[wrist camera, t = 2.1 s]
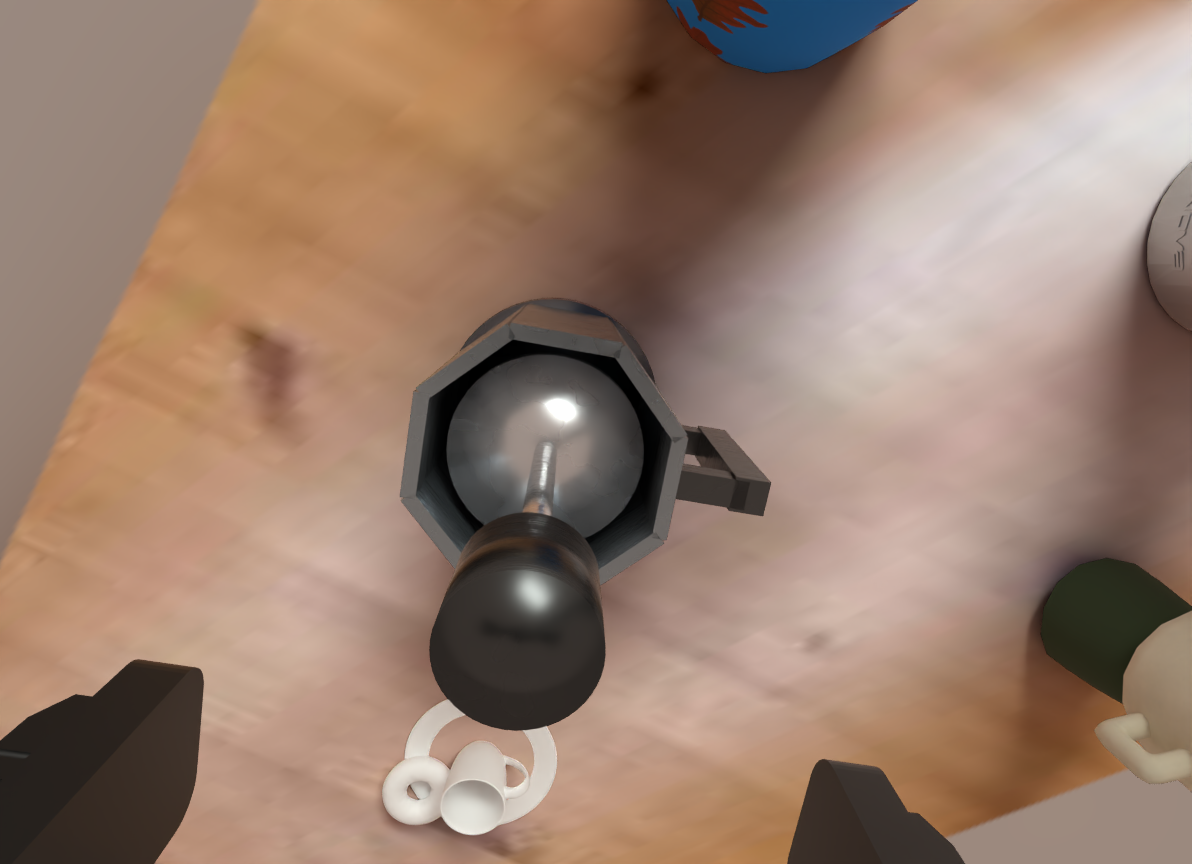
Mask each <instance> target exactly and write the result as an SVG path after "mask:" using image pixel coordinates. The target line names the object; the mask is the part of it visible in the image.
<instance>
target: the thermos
mask: <svg viewBox="0 0 1192 864" xmlns="http://www.w3.org/2000/svg"><path fill="white" fill-rule="evenodd" d="M667 1H668V3H669V4H670V6H671V8H672V9H673V11H674V12H675V14H676V15H677V17H678V18H679V20H680V21H681V23H682V24H683V26H684V27H685V29H686V30H687V32H688V34H689V35H690V37H691V38H693V39H694V40H695V41H697V42H698V43H699V44H701V45H702V46H704V47H705V48H706V49H708V50H709V51H710V52H712V53H713V54H714V55H716V56H717V57H718V58H720V59H721V60H723V61H724V62H725V63H729V64H733V65H736V66H740V67H744V68H748V69H751V70H755V71H759V72H763V73H772V72H780V71H788V70H797V69H805V68H808V67H810V66H812V65H814V64H816V63H818V62H820V61H822V60H824V59H826V58H828V57H829V56H831V55H833V54H835V53H837V52H839V51H841V50H843V49H845V48H846V47H848V46H850V45H852V44H853V43H855V42H857V41H859V40H860V39H862V38H864V37H865V36H867V35H869V34H871V33H872V32H874V31H876V30H877V29H879V28H881V27H883V26H884V25H886V24H887V23H888V22H890V21H891V20H892V19H894V18H895V17H896V16H898V15H899V14H900V13H902V12H903V11H904V10H906V9H907V8H908V7H910V6H911V5H912V4H914V3H915V2H916V1H918V0H667Z"/></svg>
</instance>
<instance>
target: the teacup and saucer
mask: <svg viewBox="0 0 1192 864" xmlns="http://www.w3.org/2000/svg"><path fill="white" fill-rule="evenodd" d="M464 715H465V714H464V713H462V712H461V711H460V710H459V709H457V708H456V707H455V706H454V705H453V704H452V703H451V702H450V701H449V700H448V699H446V700H444V701H442V702H440V703H438V704H437V705H435V706H434V707H432V708H431V709H430V710H428V711H427V712H426V713H425V714H424V715H423V716H422V717H421V718H420V719H419V720H418V722H417V723H416V724H415V726H414V727H413V729H412V731H411V733H410V735H409V737H408V740H407V743H406V748H405V755H404V760H403V761H402V762H400V763H399V764H397V765H396V766H395V767H394V768H393V769H392V770H391V771H390V773H389V774H388V776H387V777H386V779H385V782H384V784H383V788H382V798H383V803H384V806H385V808H386V810H387V811H388V813H389V814H390V815H391V816H392V817H393V818H394V819H396V820H397V821H399V822H402V823H404V824H408V825H422V824H427V823H430V822H432V821H434V820H436V819H438V818H439V817H442V818H443V820H444V821H445V823H446V824H447V825H448V826H449V827H450V828H452V829H453V830H455V831H457V832H459V833H462V834H466V835H480V834H484V833H487V832H489V831H491V830H492V829H494V828H495V827H496V826H497V825H502V824H506V823H509V822H512V821H514V820H516V819H519V818H520V817H522V816H524V815H526V814H527V813H529V812H530V811H531V810H533V809H534V808H535V807H536V806H537V805H538V804H539V803H540V802H541V801H542V800H543V799H544V797H545V796H546V794H547V793H548V791H549V790H550V788H551V786H552V783H553V781H554V778H555V774H556V769H557V752H556V746H555V743H554V740H553V737H552V735H551V733H550V731H549V729H548V728H547V726H545V727H542V728H538V729H531V730H522V731H523V732H524V733H525V734H526V736H527V737H528V739H529V741H530V743H531V745H532V748H533V752H534V768H533V772H532V775H531V777H530V778H529V774H528V772H527V770H526V768H525V767H524V766H523V765H522V764H521V763H520V762H519V761H517V760H515V759H513V758H511V757H508V756H505V755H503V754H502V753H501V752H500V750H499V749H498V748H497V747H496V746H495V745H494V744H492V743H490V742H488V741H482V740H480V741H474V742H472V743H470V744H468V745H466V746H465V747H464V748H463V749H462V750H461V751H460V752H459V754H458V755H457V757H456V759H455V761H454V763H453V765H452V767H451V770H450V769H449V768H448V767H447V766H446V765H445V764H444V763H443V762H441V761H440V760H438V759H436V758H433V757H430V756H429V750H430V746H431V744H432V741H433V739H434V738H435V736H436V735H437V733H438V732H439V731H440V730H441V729H442V728H443V727H444V726H445V725H446V724H448V723H449V722H451V721H452V720H454V719H456V718H458V717H461V716H464ZM506 765H511V766H513V767H515V768H517V769H518V770H520V771H521V772H522V773H523V775H524V776H525V780H524V781H523V782H522V783H521V784H520V785H518V786H516V787H513V788H510V787H507V779H506ZM409 785H410V786H411V788H412V789H413V791H414V793H415V794H416V796H417V797H418V798H419V799H420V800H416V799H413V798H410V797H409V796H408V795H407V788H408V786H409ZM507 799H508V800H507Z"/></svg>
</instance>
